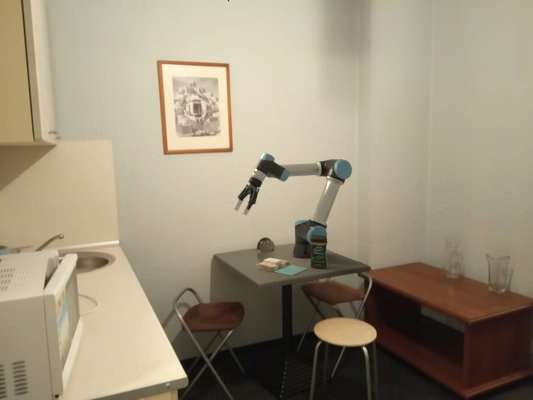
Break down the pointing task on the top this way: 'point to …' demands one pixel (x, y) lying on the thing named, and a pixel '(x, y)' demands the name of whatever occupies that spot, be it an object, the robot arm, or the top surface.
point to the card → (272, 261)
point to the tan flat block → (271, 266)
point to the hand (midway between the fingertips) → (239, 212)
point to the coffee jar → (319, 251)
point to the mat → (290, 270)
